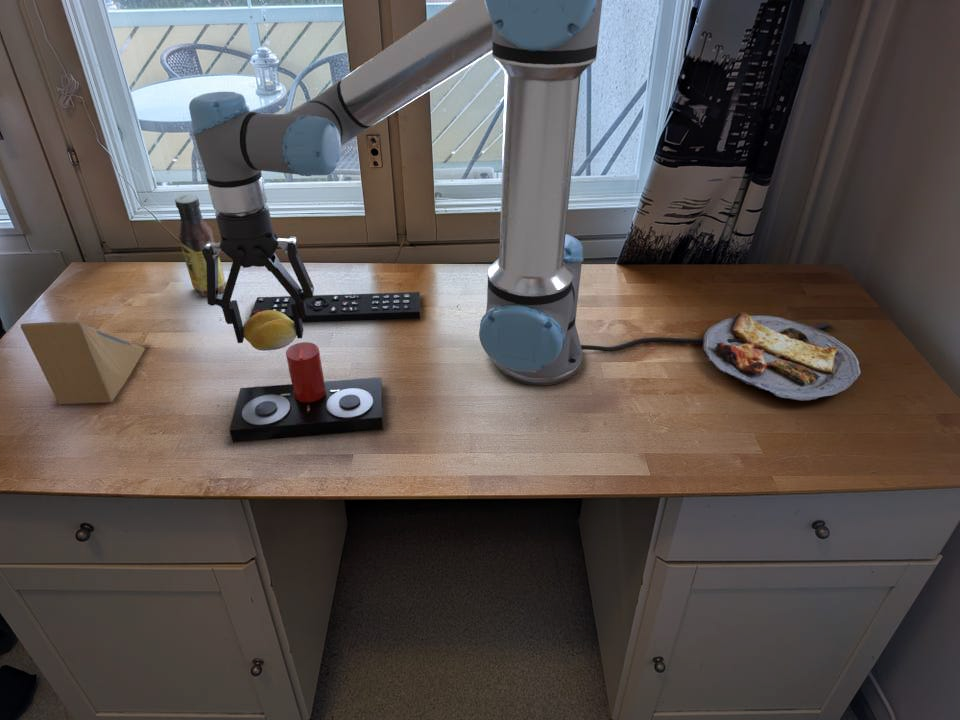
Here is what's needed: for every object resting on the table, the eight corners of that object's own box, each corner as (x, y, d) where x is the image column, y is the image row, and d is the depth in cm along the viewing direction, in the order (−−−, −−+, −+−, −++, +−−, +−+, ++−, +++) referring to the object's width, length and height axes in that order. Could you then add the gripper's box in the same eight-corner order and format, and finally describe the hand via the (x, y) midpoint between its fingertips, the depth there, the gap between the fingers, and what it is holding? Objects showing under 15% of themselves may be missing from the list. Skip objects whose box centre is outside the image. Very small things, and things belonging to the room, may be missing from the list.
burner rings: (372, 388, 102) (372, 385, 102) (373, 416, 97) (372, 413, 96) (246, 397, 100) (245, 394, 100) (238, 428, 94) (237, 424, 94)
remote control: (257, 303, 128) (255, 295, 127) (419, 298, 130) (419, 289, 129) (249, 324, 122) (247, 315, 120) (420, 318, 124) (419, 309, 123)
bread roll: (262, 358, 103) (256, 338, 100) (238, 335, 108) (232, 315, 106) (308, 339, 107) (304, 319, 105) (283, 318, 113) (279, 298, 110)
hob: (382, 383, 107) (380, 370, 106) (383, 429, 98) (381, 416, 96) (245, 393, 105) (241, 380, 103) (232, 442, 95) (228, 429, 94)
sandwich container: (147, 347, 115) (121, 272, 106) (113, 402, 103) (80, 322, 94) (97, 349, 115) (66, 273, 106) (57, 404, 102) (18, 324, 93)
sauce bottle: (195, 285, 134) (169, 192, 122) (227, 281, 135) (204, 189, 123) (193, 300, 128) (166, 205, 117) (227, 296, 130) (203, 201, 118)
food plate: (676, 359, 113) (680, 343, 111) (739, 311, 127) (743, 295, 125) (820, 427, 99) (827, 409, 97) (873, 364, 113) (881, 347, 111)
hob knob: (295, 384, 103) (287, 341, 98) (326, 382, 103) (319, 339, 98) (292, 404, 99) (283, 359, 94) (325, 401, 99) (317, 357, 94)
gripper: (318, 193, 99) (338, 319, 112) (170, 201, 96) (208, 329, 109) (314, 212, 93) (336, 343, 106) (157, 221, 90) (198, 354, 103)
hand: (271, 336), depth 108 cm, fingers closed on bread roll, 9 cm apart
